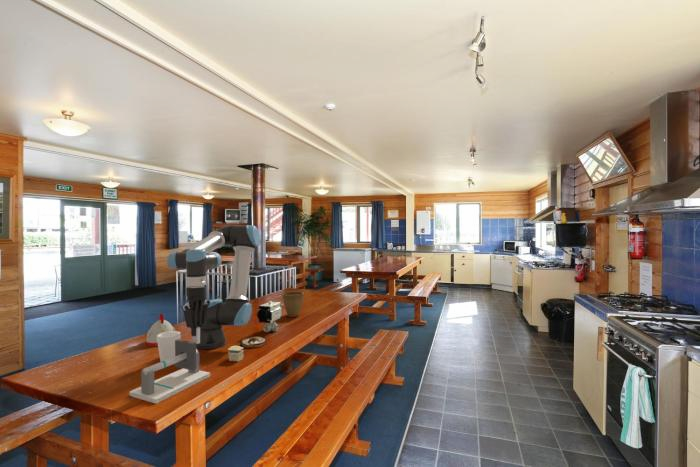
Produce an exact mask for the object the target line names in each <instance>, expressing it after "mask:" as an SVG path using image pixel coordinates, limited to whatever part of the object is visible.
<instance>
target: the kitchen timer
mask: <svg viewBox="0 0 700 467" xmlns="http://www.w3.org/2000/svg"><path fill="white" fill-rule="evenodd" d="M169 331H176V329H175V327H174V326H173V325H172V324H171V323H170V322H169V321H168V320H165V318H164V315H163V314H162V313H159V316H158V320H156V321H155V322H154V323H153V324H152V325H151V327H150V329H148V330H147V334H146V341H145V342H146V345H147V346H149V347H158V343H157V335H158V334H160V333H164V332H169Z"/></svg>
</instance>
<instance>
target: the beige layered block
mask: <svg viewBox="0 0 700 467" xmlns="http://www.w3.org/2000/svg"><path fill="white" fill-rule="evenodd" d="M243 349H244V347H243V346H240V345H232V346H230V347H229V348H227V350H228V351H227V353H228V356H227V357H228V360H229V361H230V362H240V361H242V360H243V359H244V356H245V354H244V351H245V350H243Z"/></svg>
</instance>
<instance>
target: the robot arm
mask: <svg viewBox="0 0 700 467" xmlns="http://www.w3.org/2000/svg"><path fill="white" fill-rule="evenodd" d="M260 243H261V235H260V231H259V229H258V227H257V226H256V225H249V224H245V225H242V224H241V225H239V224H237V225H235V224H232V225H230V224H229V225H225V226H222V227H219V228H217V229H214V230H212V231H211V232H210V233H208V236H206V237H204V238H203V239H201V240H200V241H198V242H195V243H193V244H192V245H191V246H189V247H187V248H185V249H184V250H181V251H180V252H179V251H174V252H173V251H172V252H169V254H168V255H167V258H166V264H167V267H169V269H172V270H186V277H185V286H186V288H185V290H186V291H185V296H186V297H187V299H186V303H185V304H184V305H181V306H180V307H181V309H182V312H183V315H184V320H185V324H186V327H187V328H190V332H191V333H190V334H191V337H192V341H191V342H196V349H197V350H214V349H217V348H220V347H223V346H224V345H226V343H227V341H226V340H227V338H226V336H225V333H224V330H223V326H229V327H231V326H232V327H233V326H234V327H242V326H243V327H244V326H245V325H247V324H248V322H250V319H251V317H252V312H253V308H252V306H253V305H252V304H251V303H250V300H249V298H248V297H247V294H248V293H247V292H248V286H249V278H250V268H251V261H252V255H253V254H252V253H253V252H255V250H256V248H257V247H258V246H259V245H260ZM222 247H232V249H233V250H234V258H233V264H232V265H233V267H232V273H231V279H230V289H229V294H228V296H227V297H225V301H224V302H223V299H221V298H216V299H209V300H207V298H206V295H207V286H206V285H207V271H209V270H215V269H217V268H219V267H220V266H221V264H222V256H221V254H219V253H218V252H217V251H214V250H216V249H221V248H222Z"/></svg>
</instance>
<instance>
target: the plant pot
mask: <svg viewBox="0 0 700 467" xmlns="http://www.w3.org/2000/svg"><path fill="white" fill-rule="evenodd" d="M282 299H283V305H284V308H285V311H286V314H287V316H288V317H290V318H295V317H299V315H300V312H301V309H302V305H303V302H304V292H303V291H286V292H283V293H282Z"/></svg>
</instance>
